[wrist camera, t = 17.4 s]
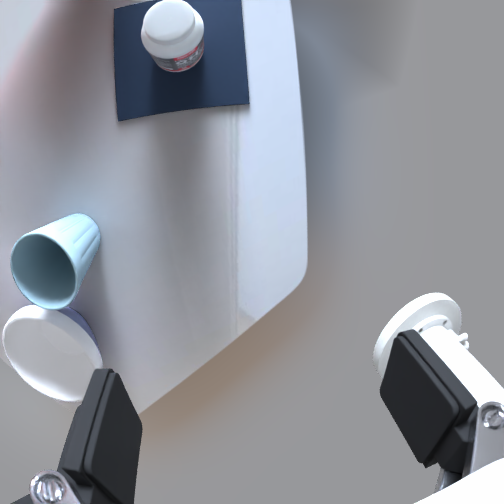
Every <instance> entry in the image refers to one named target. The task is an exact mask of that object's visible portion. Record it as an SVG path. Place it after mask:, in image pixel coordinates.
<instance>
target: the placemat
mask: <svg viewBox="0 0 504 504" xmlns="http://www.w3.org/2000/svg"><path fill="white" fill-rule="evenodd" d="M160 1H163V0H153V1H148V2H143V3H138V4H133V5H129V6H124V7H120V8H116V9H114V68H115V88H116V103H117V115H118V121H123V120H128V119H133V118H138V117H143V116H149V115H155V114H161V113H167V112H174V111H181V110H188V109H197V108H205V107H215V106H226V105H238V104H249V91H248V79H247V66H246V54H245V42H244V30H243V18H242V7H241V0H182V1H184V2H186V3H188V4H189V5H190V6H191V7H192V9H194V10H195V11H196V12H197V13H198V14H199V15H200V17H201V18H202V21H203V24H204V50H203V54H202V57H201V58H200V60H199V61H198V62H197V63H196V64H195V65H194V66H193V67H191V68H190V69H187V70H185V71H181V72H170V71H166V70H164V69H162V68H161V67H159V66H158V65H157V64H156V62H155V61H154V59H153V58H152V57H151V55H150V54H149V52H148V51H147V50H146V48H145V47H144V45H143V43H142V39H141V30H142V26H143V20H144V17H145V15H146V13H147V11H148V10H149V9H150V8H151V7H152V6H153V5H155V4H156V3H158V2H160Z"/></svg>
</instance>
